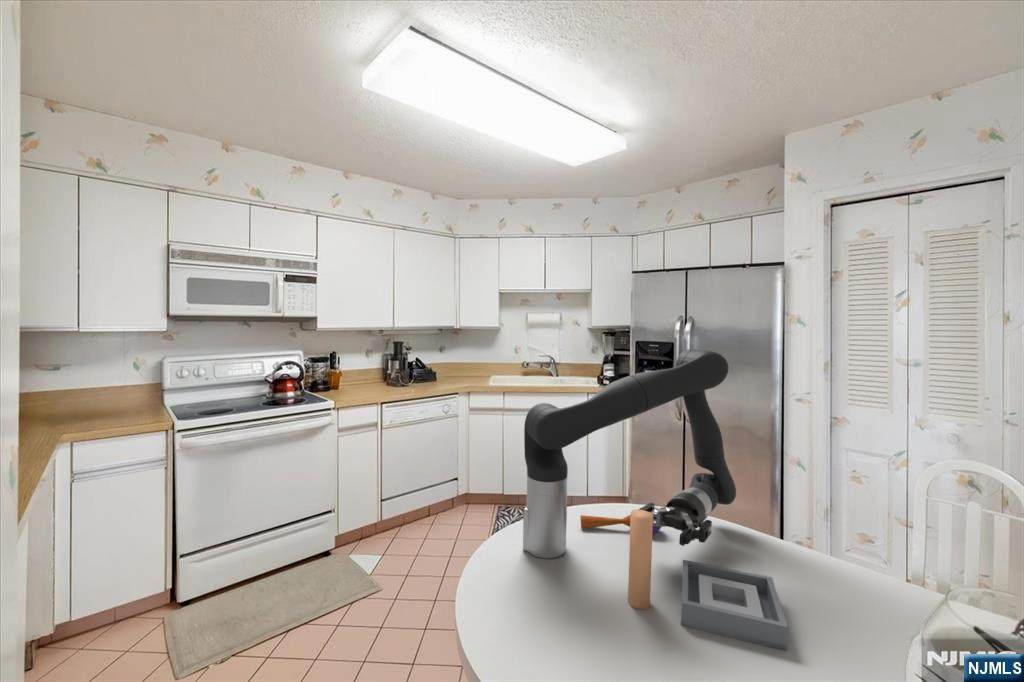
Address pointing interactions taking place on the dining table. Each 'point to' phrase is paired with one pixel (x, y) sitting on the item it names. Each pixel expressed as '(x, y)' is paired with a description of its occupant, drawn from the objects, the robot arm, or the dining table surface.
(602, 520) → the kendama
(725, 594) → the box
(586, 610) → the dining table surface
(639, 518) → the peg
